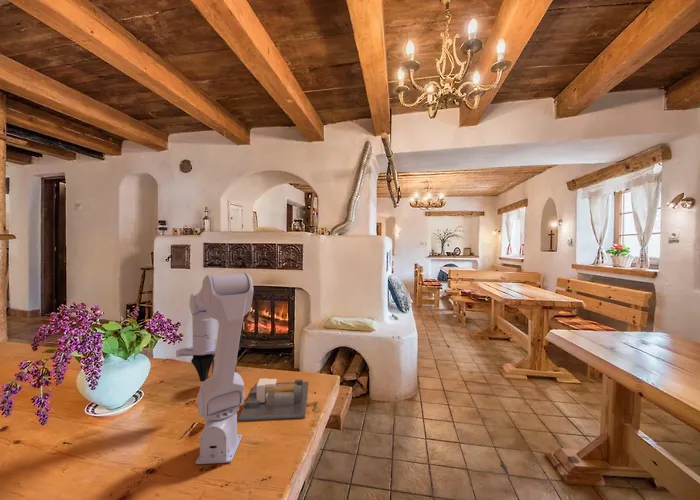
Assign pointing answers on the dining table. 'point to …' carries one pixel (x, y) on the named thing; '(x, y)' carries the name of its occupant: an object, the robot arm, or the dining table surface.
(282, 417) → the base plate
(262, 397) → the latch
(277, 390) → the strap
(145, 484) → the dining table surface
